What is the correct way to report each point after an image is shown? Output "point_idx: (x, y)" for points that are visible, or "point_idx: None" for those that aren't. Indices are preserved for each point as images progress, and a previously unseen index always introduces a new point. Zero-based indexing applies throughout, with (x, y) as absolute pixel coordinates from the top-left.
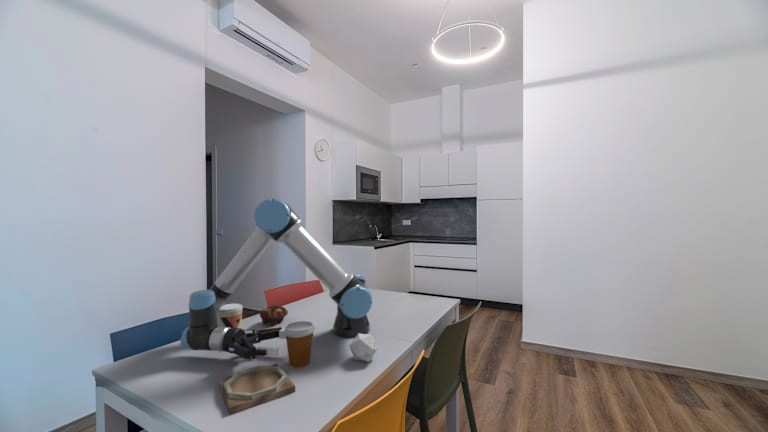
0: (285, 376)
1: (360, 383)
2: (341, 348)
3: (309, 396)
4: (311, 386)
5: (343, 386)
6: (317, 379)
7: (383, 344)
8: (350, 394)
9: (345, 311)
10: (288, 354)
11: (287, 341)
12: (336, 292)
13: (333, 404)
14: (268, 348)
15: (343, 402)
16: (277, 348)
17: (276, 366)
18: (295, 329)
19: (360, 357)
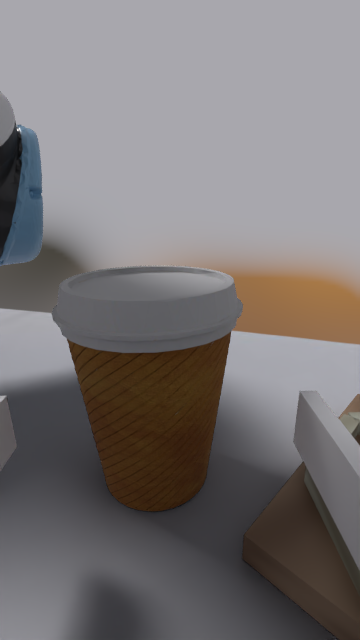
0: (357, 413)
1: (237, 336)
2: (25, 387)
3: (345, 381)
4: (301, 389)
5: (262, 349)
6: (259, 388)
7: (31, 332)
8: (284, 339)
9: (42, 226)
10: (195, 451)
11: (213, 373)
12: (3, 132)
13: (334, 349)
14: (348, 436)
15: (316, 341)
16: (311, 393)
17: (313, 481)
18: (197, 286)
19: None
